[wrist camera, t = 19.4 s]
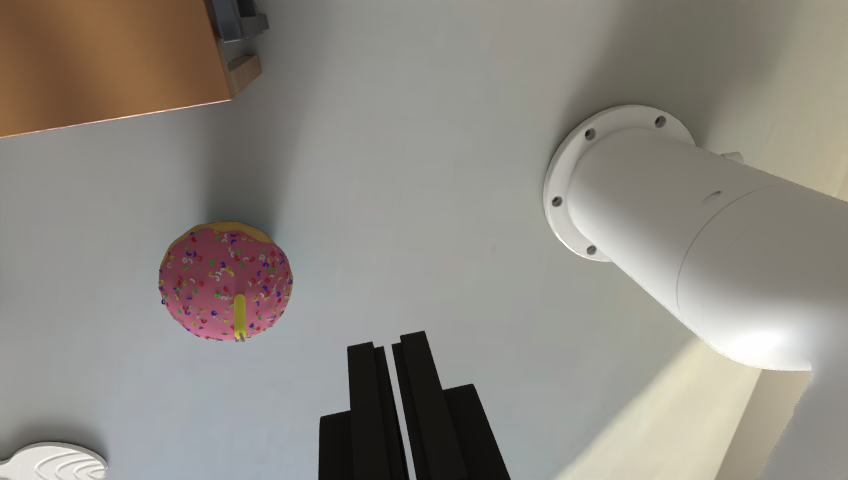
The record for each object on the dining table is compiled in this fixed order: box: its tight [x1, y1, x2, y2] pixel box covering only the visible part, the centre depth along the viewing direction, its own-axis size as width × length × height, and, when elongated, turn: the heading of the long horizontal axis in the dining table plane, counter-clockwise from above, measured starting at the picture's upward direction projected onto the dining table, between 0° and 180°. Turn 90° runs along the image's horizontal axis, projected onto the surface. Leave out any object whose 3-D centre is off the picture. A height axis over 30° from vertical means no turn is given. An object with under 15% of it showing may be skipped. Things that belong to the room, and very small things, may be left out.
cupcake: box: [158, 221, 293, 343], centre depth 35 cm, size 9×8×12 cm
